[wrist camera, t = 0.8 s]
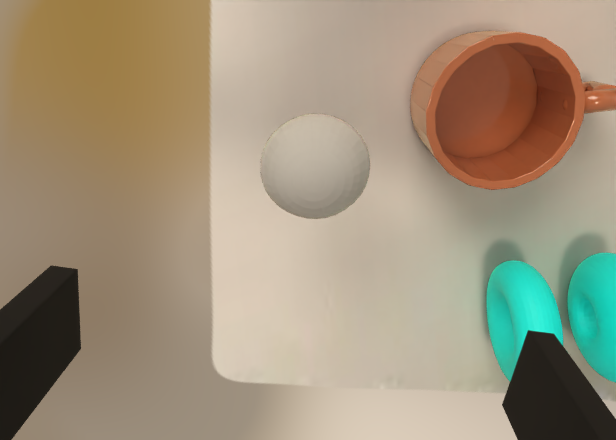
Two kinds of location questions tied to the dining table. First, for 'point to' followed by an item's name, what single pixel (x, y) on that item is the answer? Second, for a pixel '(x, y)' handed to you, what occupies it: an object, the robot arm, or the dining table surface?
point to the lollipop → (315, 166)
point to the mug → (502, 106)
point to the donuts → (554, 311)
